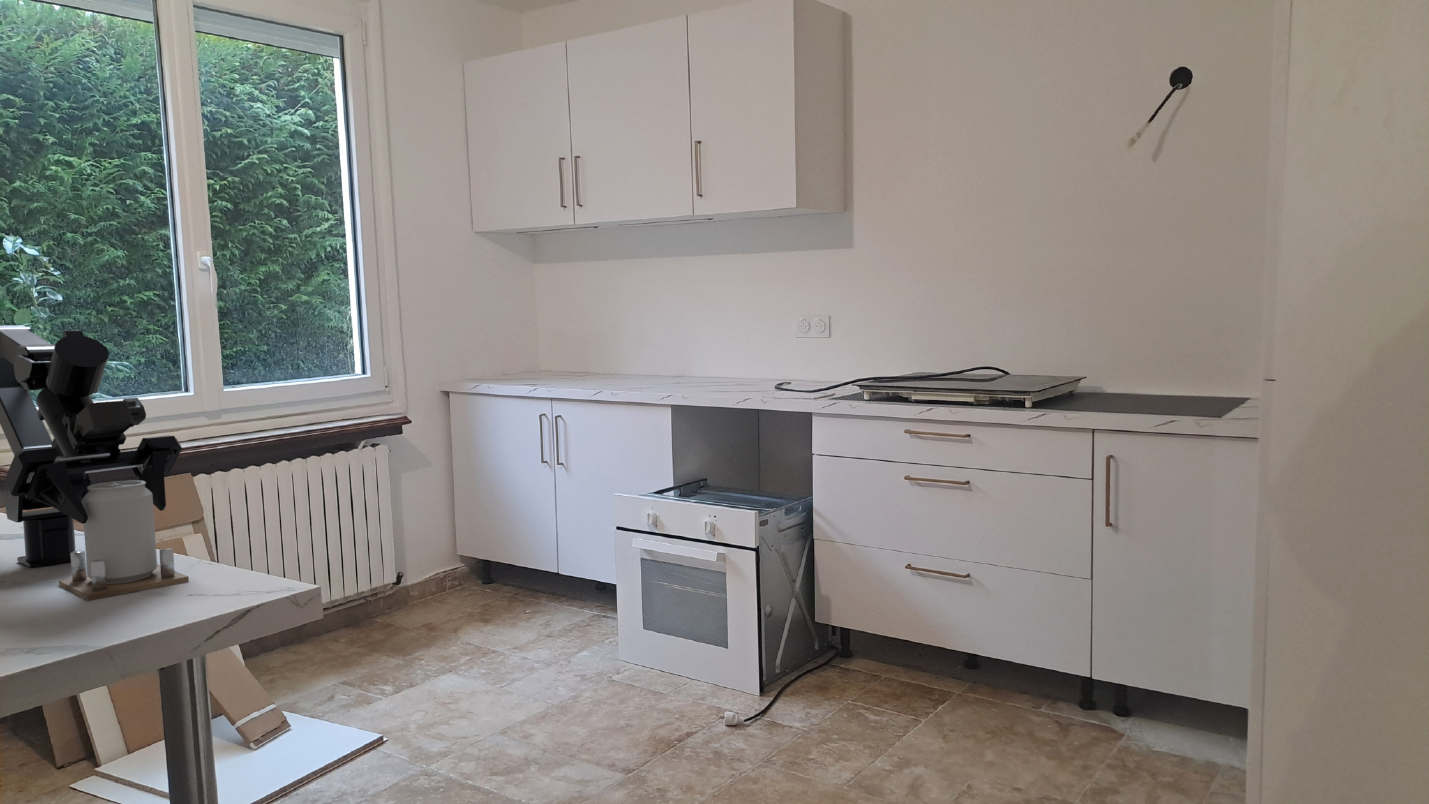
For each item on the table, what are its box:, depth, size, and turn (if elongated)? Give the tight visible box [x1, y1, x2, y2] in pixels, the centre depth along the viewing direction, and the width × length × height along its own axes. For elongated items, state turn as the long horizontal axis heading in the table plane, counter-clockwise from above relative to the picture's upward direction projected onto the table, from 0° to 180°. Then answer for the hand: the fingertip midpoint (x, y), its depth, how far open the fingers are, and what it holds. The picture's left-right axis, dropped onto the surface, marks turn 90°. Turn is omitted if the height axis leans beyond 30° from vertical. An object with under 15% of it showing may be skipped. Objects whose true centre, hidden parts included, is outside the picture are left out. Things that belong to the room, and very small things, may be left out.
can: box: [82, 479, 158, 584], centre depth 121 cm, size 8×8×12 cm
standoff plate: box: [58, 547, 190, 601], centre depth 121 cm, size 11×11×4 cm
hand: (125, 514), depth 120 cm, fingers open, 9 cm apart
